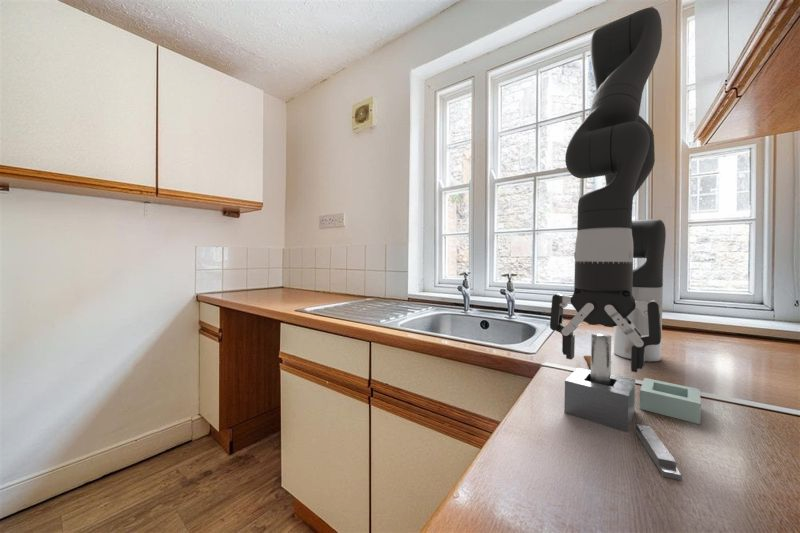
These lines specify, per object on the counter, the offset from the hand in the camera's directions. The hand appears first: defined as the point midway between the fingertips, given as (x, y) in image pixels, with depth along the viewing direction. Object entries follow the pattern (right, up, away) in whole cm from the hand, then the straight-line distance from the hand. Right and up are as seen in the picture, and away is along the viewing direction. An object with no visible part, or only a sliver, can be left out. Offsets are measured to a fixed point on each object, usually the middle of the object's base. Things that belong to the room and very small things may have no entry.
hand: (600, 364), depth 49 cm
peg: (0, -8, 0) cm, 8 cm away
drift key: (+1, -8, -10) cm, 12 cm away
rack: (+12, -8, +2) cm, 14 cm away
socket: (0, -8, 0) cm, 8 cm away
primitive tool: (+12, -8, +20) cm, 24 cm away
